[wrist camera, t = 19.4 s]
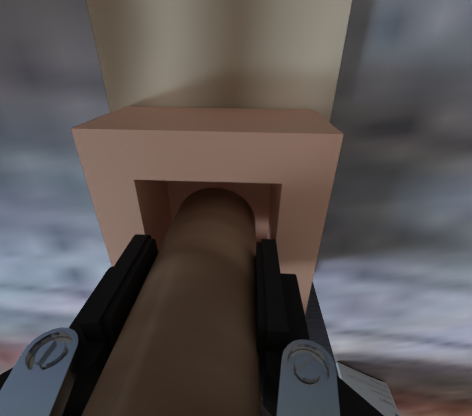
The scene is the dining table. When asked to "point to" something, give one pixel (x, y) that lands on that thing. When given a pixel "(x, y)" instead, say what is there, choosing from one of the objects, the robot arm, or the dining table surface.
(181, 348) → the dowel
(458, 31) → the dining table surface
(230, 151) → the carriage
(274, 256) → the robot arm
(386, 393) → the supplement box
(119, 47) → the board
